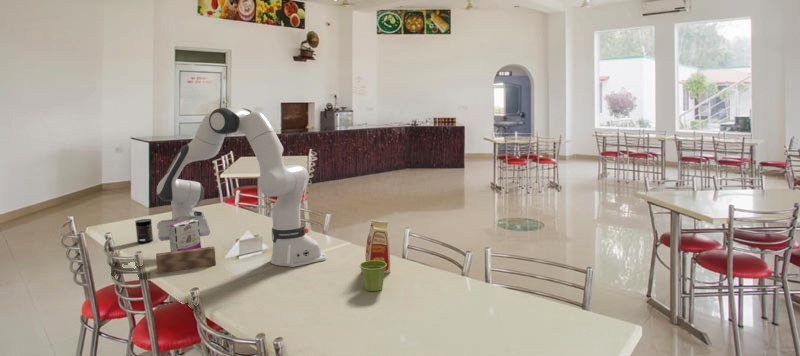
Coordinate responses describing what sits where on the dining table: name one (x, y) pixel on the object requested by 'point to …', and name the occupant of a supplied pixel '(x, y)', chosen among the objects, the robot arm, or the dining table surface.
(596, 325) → the dining table surface
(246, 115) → the robot arm
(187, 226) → the candy bar box
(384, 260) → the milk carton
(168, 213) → the dining table surface
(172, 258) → the walnut board
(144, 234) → the supplement container
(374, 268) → the plant pot
